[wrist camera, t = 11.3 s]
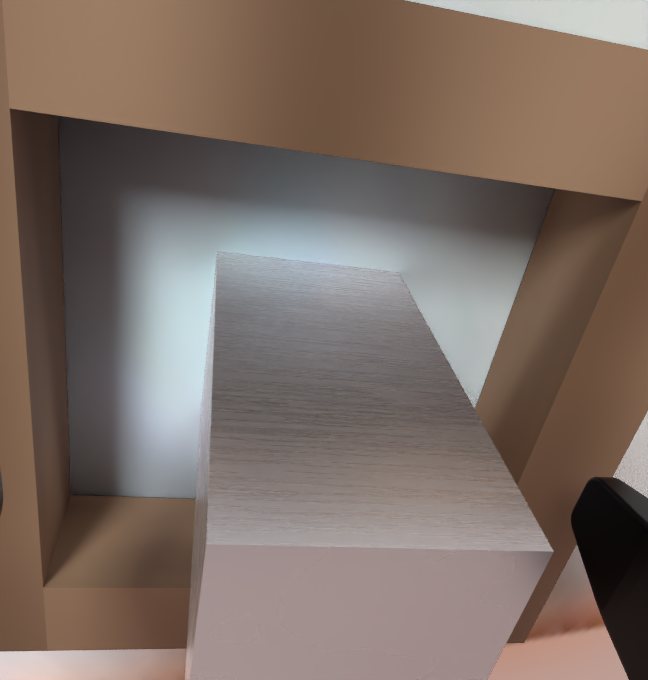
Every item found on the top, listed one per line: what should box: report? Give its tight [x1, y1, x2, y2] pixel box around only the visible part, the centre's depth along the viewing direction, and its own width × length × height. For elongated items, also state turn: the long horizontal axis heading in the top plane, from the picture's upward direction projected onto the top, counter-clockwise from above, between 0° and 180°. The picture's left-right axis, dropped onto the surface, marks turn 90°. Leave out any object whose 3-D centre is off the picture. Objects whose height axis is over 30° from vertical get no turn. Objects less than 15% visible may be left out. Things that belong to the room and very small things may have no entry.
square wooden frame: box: [0, 0, 648, 651], centre depth 12 cm, size 13×13×2 cm
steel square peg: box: [185, 252, 554, 680], centre depth 10 cm, size 4×4×7 cm
